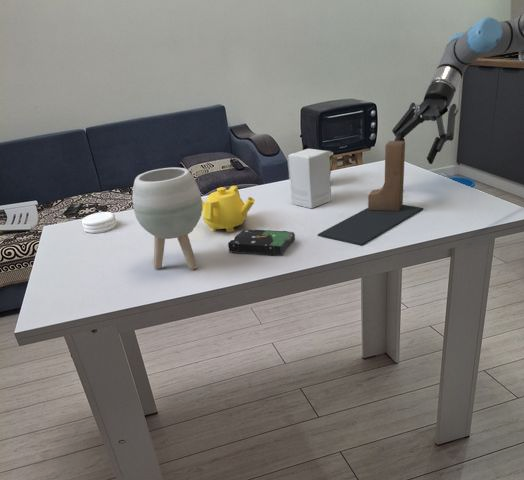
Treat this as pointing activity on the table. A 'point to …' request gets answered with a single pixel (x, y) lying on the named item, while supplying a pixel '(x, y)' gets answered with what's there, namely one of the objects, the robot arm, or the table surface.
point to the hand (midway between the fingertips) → (410, 159)
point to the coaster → (99, 222)
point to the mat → (368, 224)
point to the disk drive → (262, 242)
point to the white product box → (310, 177)
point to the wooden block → (390, 180)
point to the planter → (168, 209)
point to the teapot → (225, 209)
